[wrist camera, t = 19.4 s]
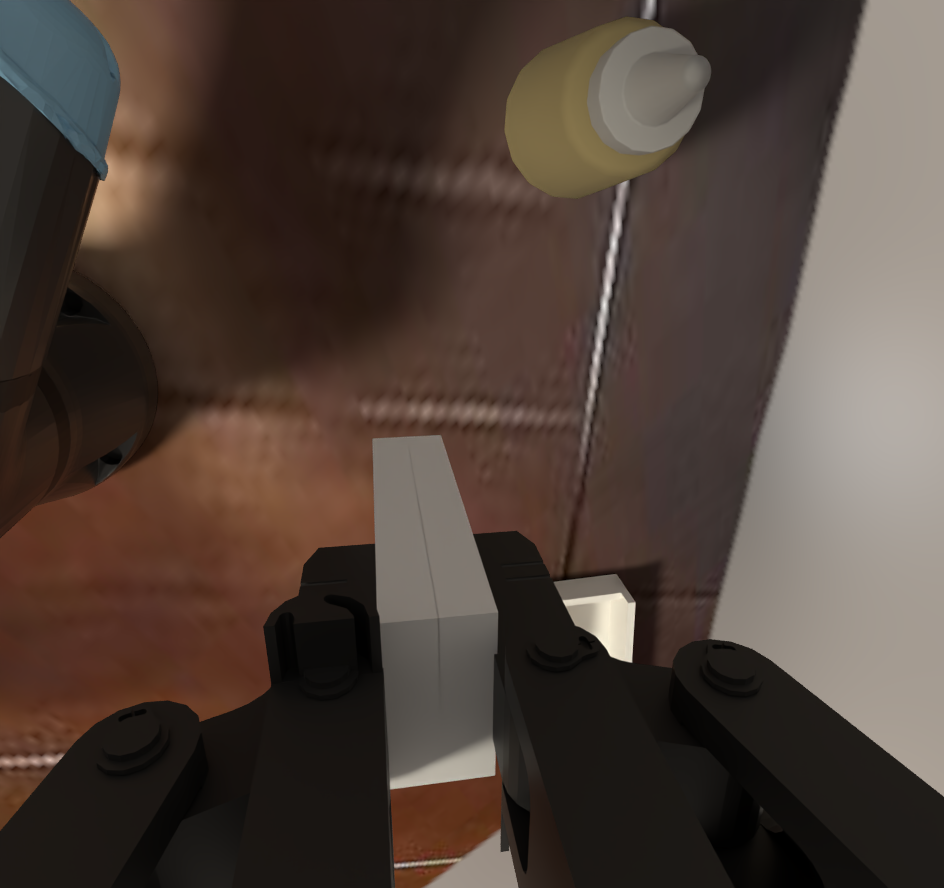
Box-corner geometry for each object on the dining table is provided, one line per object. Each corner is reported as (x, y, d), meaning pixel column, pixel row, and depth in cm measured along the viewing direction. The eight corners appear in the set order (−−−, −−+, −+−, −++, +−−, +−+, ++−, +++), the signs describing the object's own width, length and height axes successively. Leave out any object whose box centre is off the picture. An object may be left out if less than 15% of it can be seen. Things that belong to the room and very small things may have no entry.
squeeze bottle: (637, 158, 40) (826, 125, 24) (528, 223, 41) (639, 235, 24) (585, 27, 37) (761, -116, 21) (468, 99, 38) (548, 15, 21)
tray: (490, 725, 55) (499, 762, 52) (484, 590, 50) (494, 621, 46) (610, 706, 57) (627, 741, 53) (616, 573, 52) (635, 602, 48)
